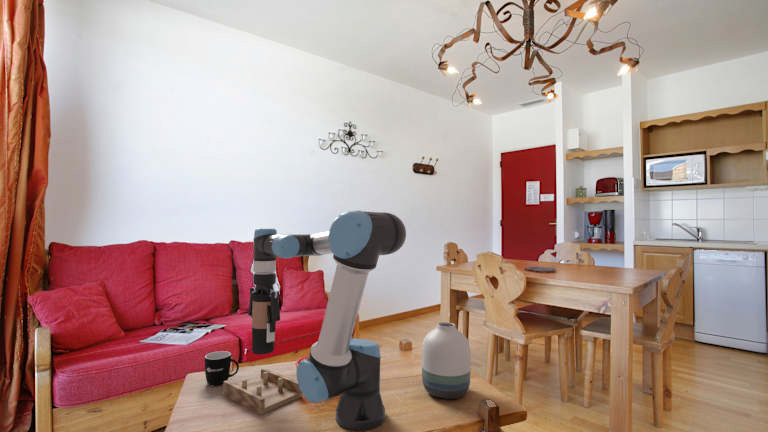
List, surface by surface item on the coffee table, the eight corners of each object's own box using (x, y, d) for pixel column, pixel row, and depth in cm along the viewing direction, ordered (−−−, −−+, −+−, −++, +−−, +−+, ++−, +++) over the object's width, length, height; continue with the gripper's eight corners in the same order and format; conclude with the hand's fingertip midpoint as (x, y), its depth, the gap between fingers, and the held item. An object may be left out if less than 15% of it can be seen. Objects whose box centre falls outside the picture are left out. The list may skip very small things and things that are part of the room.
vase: (412, 387, 137) (413, 321, 138) (450, 379, 145) (450, 316, 145) (440, 408, 122) (440, 333, 123) (480, 397, 130) (480, 327, 130)
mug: (200, 388, 135) (200, 359, 135) (209, 378, 144) (209, 351, 144) (235, 387, 136) (235, 358, 136) (241, 377, 145) (242, 350, 145)
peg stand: (301, 396, 129) (301, 380, 129) (261, 414, 116) (261, 396, 116) (263, 379, 142) (263, 365, 143) (223, 394, 130) (223, 378, 130)
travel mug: (251, 348, 132) (252, 291, 133) (273, 346, 135) (274, 290, 135) (251, 356, 125) (252, 295, 125) (275, 353, 128) (276, 294, 128)
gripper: (292, 274, 127) (291, 342, 127) (256, 269, 140) (255, 331, 139) (273, 276, 121) (272, 348, 121) (238, 271, 134) (236, 335, 133)
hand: (263, 339), depth 130 cm, fingers closed on travel mug, 8 cm apart
